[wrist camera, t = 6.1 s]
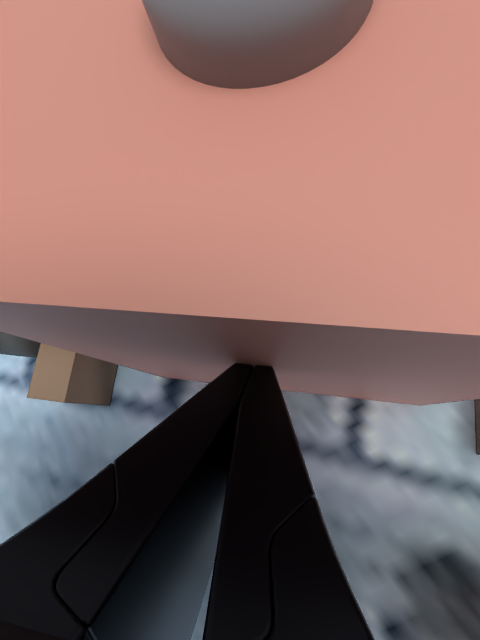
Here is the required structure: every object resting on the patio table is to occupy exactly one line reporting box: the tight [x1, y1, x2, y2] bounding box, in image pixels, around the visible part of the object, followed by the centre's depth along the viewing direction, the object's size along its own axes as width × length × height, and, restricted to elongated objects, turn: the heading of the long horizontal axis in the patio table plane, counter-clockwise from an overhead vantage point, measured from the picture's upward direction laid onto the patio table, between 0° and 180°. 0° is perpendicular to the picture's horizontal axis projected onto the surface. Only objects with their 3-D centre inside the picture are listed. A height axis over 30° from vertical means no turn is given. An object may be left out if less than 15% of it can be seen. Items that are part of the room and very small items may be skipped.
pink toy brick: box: [0, 0, 480, 405], centre depth 10 cm, size 15×10×12 cm, turn 173°
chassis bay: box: [0, 332, 480, 455], centre depth 14 cm, size 20×22×4 cm
